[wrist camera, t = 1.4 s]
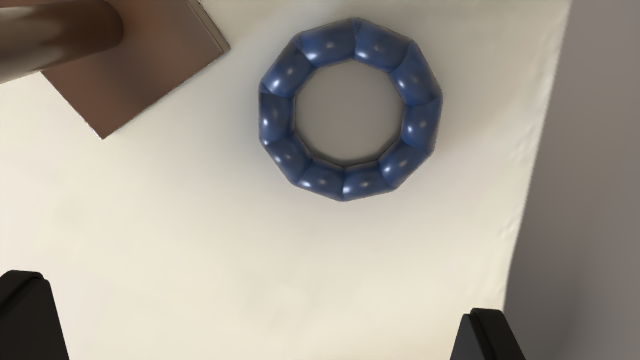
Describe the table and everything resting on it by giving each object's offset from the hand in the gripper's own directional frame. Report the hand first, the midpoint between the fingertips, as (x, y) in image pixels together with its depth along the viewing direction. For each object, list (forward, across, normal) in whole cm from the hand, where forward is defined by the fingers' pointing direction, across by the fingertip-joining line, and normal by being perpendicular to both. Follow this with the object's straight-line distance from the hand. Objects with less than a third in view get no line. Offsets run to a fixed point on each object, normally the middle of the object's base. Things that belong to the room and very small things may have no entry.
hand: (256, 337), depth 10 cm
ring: (+16, -2, -1) cm, 16 cm away
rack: (+17, +11, -4) cm, 20 cm away
